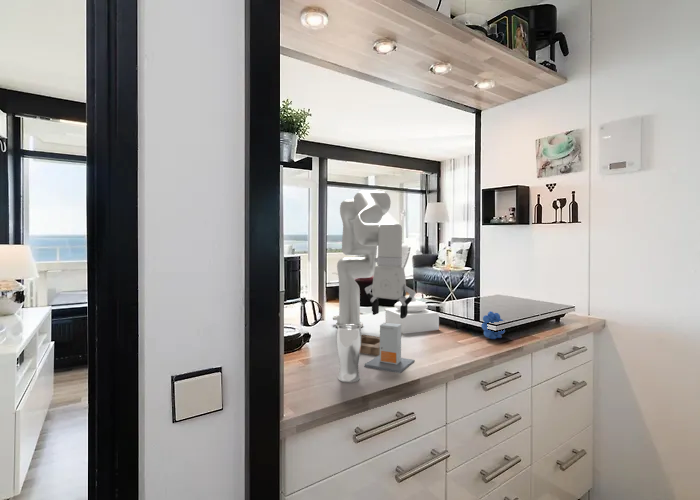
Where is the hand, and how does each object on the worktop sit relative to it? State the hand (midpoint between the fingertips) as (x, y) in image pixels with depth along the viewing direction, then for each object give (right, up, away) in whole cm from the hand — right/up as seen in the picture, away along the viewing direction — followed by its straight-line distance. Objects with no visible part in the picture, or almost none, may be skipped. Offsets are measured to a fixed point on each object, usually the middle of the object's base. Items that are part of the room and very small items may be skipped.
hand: (389, 315), depth 118 cm
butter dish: (+15, -15, +49) cm, 53 cm away
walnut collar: (-5, -15, +18) cm, 24 cm away
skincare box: (0, -15, 0) cm, 15 cm away
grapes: (+45, -16, +28) cm, 55 cm away
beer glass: (-13, -16, -12) cm, 24 cm away
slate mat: (0, -16, 0) cm, 16 cm away
